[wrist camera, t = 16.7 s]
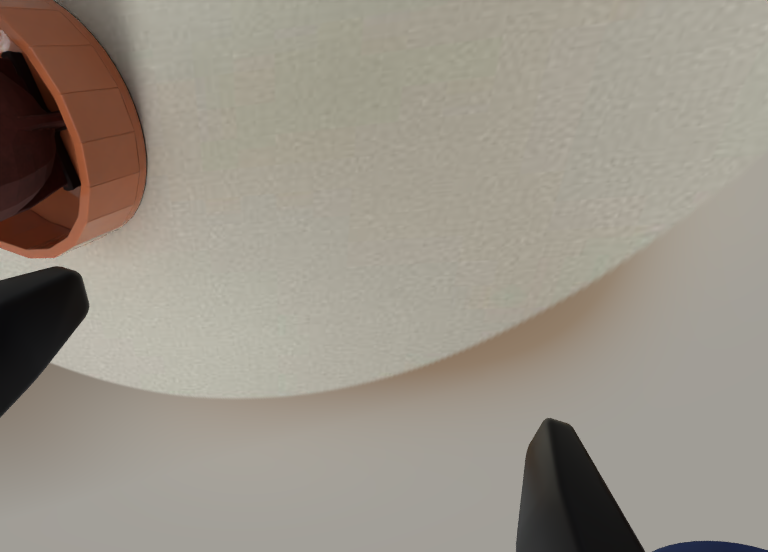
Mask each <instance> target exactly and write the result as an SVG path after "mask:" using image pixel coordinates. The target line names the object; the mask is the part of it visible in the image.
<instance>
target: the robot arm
mask: <svg viewBox="0 0 768 552" xmlns="http://www.w3.org/2000/svg"><path fill="white" fill-rule="evenodd" d="M88 310H89V301H88V298H87V294H86V290H85V286H84V283H83V279H82V276H81V275H80V274H79V273H78V272H76V271H73V270H70V269H67V268H64V267H58V266H56V267H50V268H47V269H43V270H39V271H35V272H31V273H27V274H23V275H19V276H16V277H12V278H8V279H4V280H0V417H1V416H2V415H3V414H4V413H5V412H6V411H7V410H8V409H9V407H11V406H12V405H13V404H14V403H15V402H16V400H17V399H18V398H19V397H20V396H21V395H22V394H23V393H24V392H25V391H26V390H27V389H28V388H29V387H30V386H31V384H32V383H33V382H34V381H35V380H36V379H37V378H38V376H39V375H40V374H41V373H42V372H43V370H44V369H45V368H46V367H47V365H48V364H49V363H50V361H51V360H52V359H53V358H54V356H55V355H56V354H57V352H58V351H59V350H60V349H61V347H62V346H63V345H64V344H65V342H66V341H67V340H68V338H69V337H70V336H71V335H72V333H73V332H74V331H75V329H76V328H77V327H78V326H79V324H80V323H81V322H82V321H83V319H84V318H85V317H86V315H87V313H88ZM516 552H645V551H644V549H643V547H642V545H641V544H640V542H639V540H638V539H637V537H636V535H635V533H634V532H633V530H632V528H631V527H630V525H629V523H628V521H627V520H626V518H625V516H624V514H623V513H622V511H621V509H620V508H619V506H618V504H617V502H616V501H615V499H614V498H613V496H612V494H611V492H610V491H609V489H608V487H607V485H606V484H605V482H604V480H603V478H602V477H601V475H600V473H599V472H598V470H597V468H596V466H595V465H594V463H593V461H592V460H591V458H590V456H589V454H588V453H587V451H586V449H585V448H584V446H583V444H582V442H581V441H580V439H579V437H578V436H577V434H576V432H575V430H574V429H573V427H572V426H571V425H569V424H567V423H564V422H561V421H558V420H554V419H551V418H547V419H545V420H544V421H543V422H542V424H541V426H540V428H539V429H538V431H537V432H536V434H535V436H534V438H533V440H532V441H531V443H530V444H529V447H528V450H527V453H526V460H525V469H524V477H523V486H522V494H521V503H520V512H519V521H518V530H517V541H516Z"/></svg>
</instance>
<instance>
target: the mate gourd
mask: <svg viewBox="0 0 768 552" xmlns="http://www.w3.org/2000/svg"><path fill="white" fill-rule="evenodd" d="M1 57H2V58H0V222H1V221H3V220H5V219H8V218H10V217H12V216H15V215H17V214H20V213H22V212H24V211H27V210H29V209H31V208H32V207H34V206H35V205H37V204H38V203H40V202H41V201H43V200H44V199H46V198H47V197H49V196H50V195H51V194H53V193H54V192H56V191H57V190H59V189H60V188H62V187H63V189H64V190H66V191H71V190H74V189H75V188H77V187H80V186H81V182H80V180H79V177H78V175H77V173H76V171H75V168H74V166H73V164H72V162H71V159H70V157H69V155H68V153H67V151H66V148H65V146H64V144H63V141H62V139H61V137H60V131H63V130H66V129H67V127H66V125H65V122H64V120H63V118H62V115H61V113H60V111H59V110H58V111H54V112H51V111H50V110H49V109H48V108H47V106H46V104H45V102H44V100H43V98H42V95H41V93H40V91H39V89H38V87H37V84H36V82H35V80H34V78H33V76H32V73H31V71H30V69H29V67H28V65H27V63H26V61H25V59H24V57H23V55H22V53H20V52H13V51H5V52H2V54H1Z"/></svg>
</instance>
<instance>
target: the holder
mask: <svg viewBox="0 0 768 552" xmlns="http://www.w3.org/2000/svg"><path fill="white" fill-rule="evenodd" d="M5 51H13V52H20V53H22V55H23V57H24V59H25V61H26V63H27V65H28V67H29V69H30V71H31V73H32V76H33V78H34V80H35V82H36V84H37V87H38V89H39V91H40V93H41V95H42V98H43V100H44V102H45V104H46V106H47V108H48V109H49V110H50V111H51V112H54V111H58V110H59V111H60V113H61V115H62V118H63V120H64V122H65V125H66V127H67V129H66V130H63V131H60V137H61V139H62V141H63V144H64V146H65V148H66V151H67V153H68V155H69V157H70V159H71V162H72V164H73V166H74V168H75V171H76V173H77V175H78V177H79V180H80V182H81V186H80V187H77V188H75V189H74V190H71V191H66V190H64V189H63V187H62V188H60V189H59V190H57V191H56V192H54V193H53V194H51V195H50V196H49V197H47V198H46V199H44V200H43V201H41V202H40V203H38V204H37V205H35V206H34V207H32V208H31V209H29V210H27V211H24V212H22V213H20V214H17V215H15V216H12V217H10V218H8V219H5V220H3V221H1V222H0V248H2V249H4V250H7V251H10V252H13V253H16V254H18V255H21V256H24V257H27V258H55V257H58V256H61V255H63V254H65V253H67V252H70V251H72V250H74V249H77V248H79V247H81V246H84V245H86V244H88V243H91V242H93V241H95V240H98V239H100V238H102V237H104V236H105V235H107V234H109V233H111V232H113V231H116V230H118V229H119V228H121V227H122V226H124V225H125V224H126V223H127V222H128V221H129V220H130V219H131V218H132V216H133V215H134V213H135V212H136V210H137V209H138V206H139V204H140V202H141V199H142V196H143V192H144V188H145V182H146V151H145V144H144V138H143V133H142V129H141V125H140V121H139V118H138V115H137V112H136V109H135V106H134V103H133V101H132V99H131V96H130V94H129V92H128V89H127V87H126V85H125V83H124V81H123V79H122V78H121V76H120V74H119V72H118V70H117V68H116V67H115V65H114V64H113V62H112V61H111V59H110V58H109V56H108V54H107V53H106V52H105V50H104V49H103V48H102V46H101V45H100V44H99V42H98V41H97V40H96V39H95V37H94V36H93V35H92V34H91V33H90V32H89V31H88V30H87V29H86V28H85V26H84V25H83V24H82V23H81V22H80V21H79V20H77V19H76V18H75V17H74V16H73V15H72V14H71V13H69V12H68V11H67V10H66V9H64V8H63V7H62V6H60V5H59V4H57V3H56V2H54V1H53V0H0V58H2V57H1V54H2V52H5Z"/></svg>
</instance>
